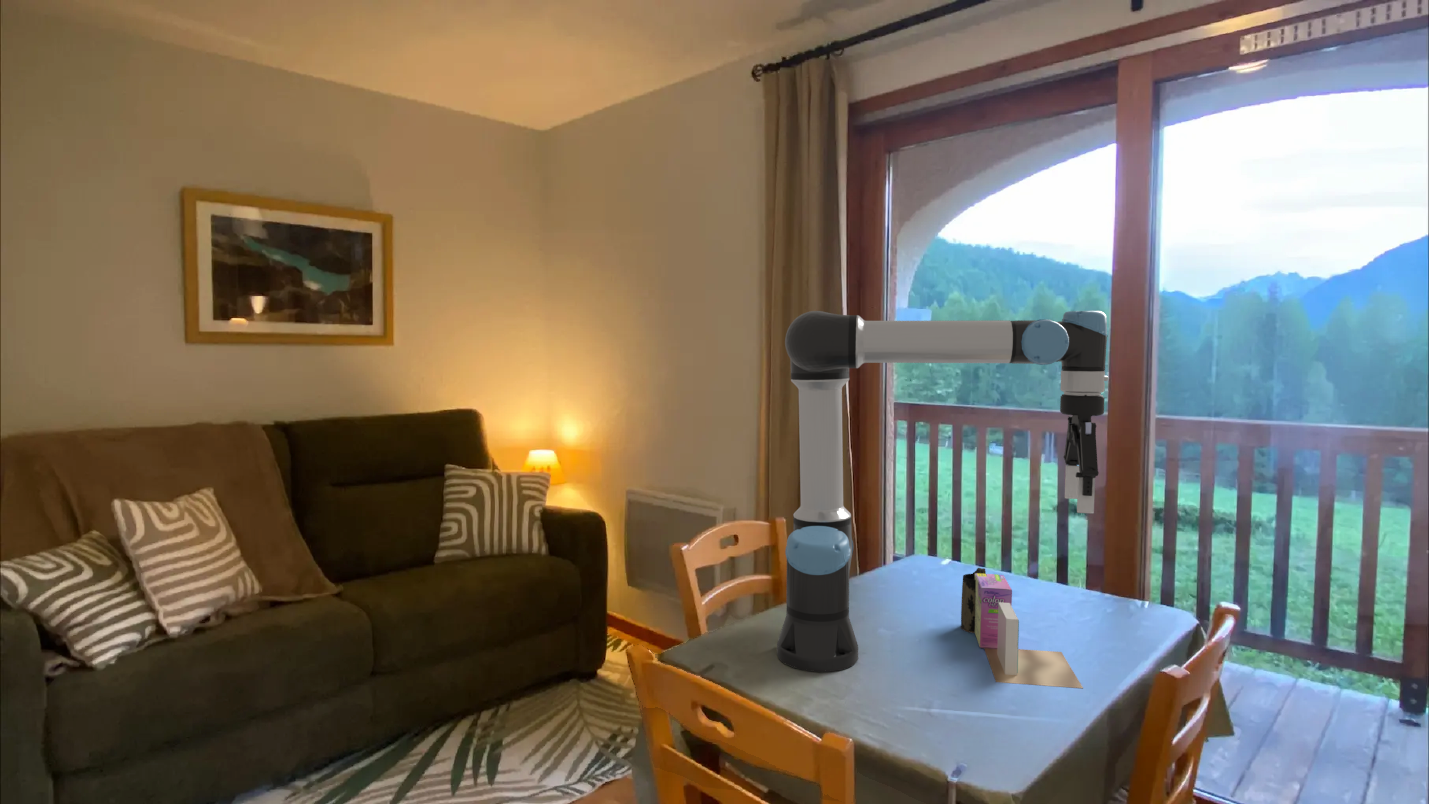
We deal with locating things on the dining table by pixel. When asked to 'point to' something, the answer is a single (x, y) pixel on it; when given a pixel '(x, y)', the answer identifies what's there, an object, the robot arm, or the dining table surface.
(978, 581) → the box
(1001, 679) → the mat
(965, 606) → the mug
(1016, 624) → the tile
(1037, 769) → the dining table surface
